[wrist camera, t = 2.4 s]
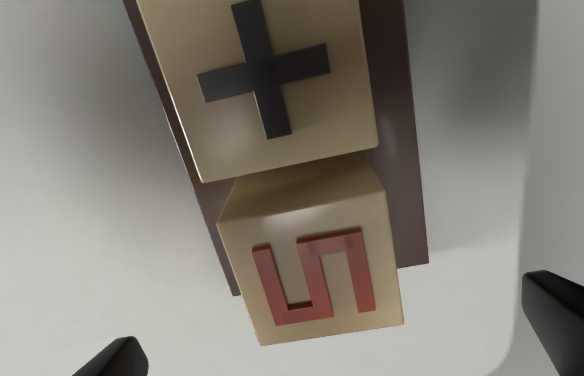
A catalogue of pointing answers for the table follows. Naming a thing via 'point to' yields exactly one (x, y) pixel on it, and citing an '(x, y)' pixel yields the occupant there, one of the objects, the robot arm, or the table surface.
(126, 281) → the table surface
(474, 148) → the table surface
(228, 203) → the letter s tile
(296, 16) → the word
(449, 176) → the table surface
